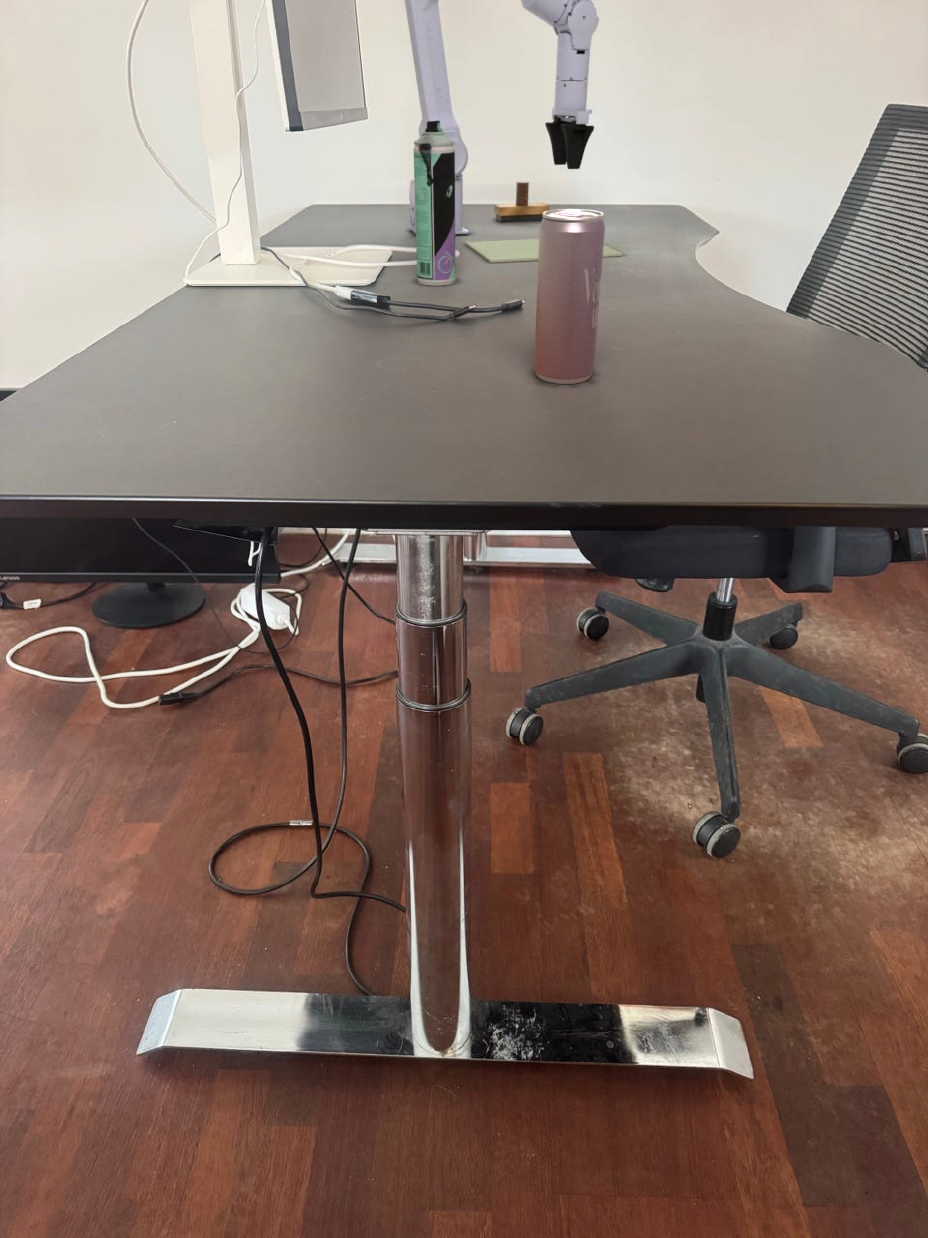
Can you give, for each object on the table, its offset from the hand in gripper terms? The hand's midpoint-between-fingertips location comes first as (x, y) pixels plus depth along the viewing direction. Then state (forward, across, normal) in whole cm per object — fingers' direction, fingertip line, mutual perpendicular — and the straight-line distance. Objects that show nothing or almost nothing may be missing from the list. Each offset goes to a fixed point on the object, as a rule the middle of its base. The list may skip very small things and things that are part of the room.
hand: (566, 166), depth 162 cm
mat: (+10, -25, +12) cm, 29 cm away
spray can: (+10, -44, +34) cm, 56 cm away
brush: (+10, +6, +6) cm, 13 cm away
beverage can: (+10, -90, +31) cm, 95 cm away
